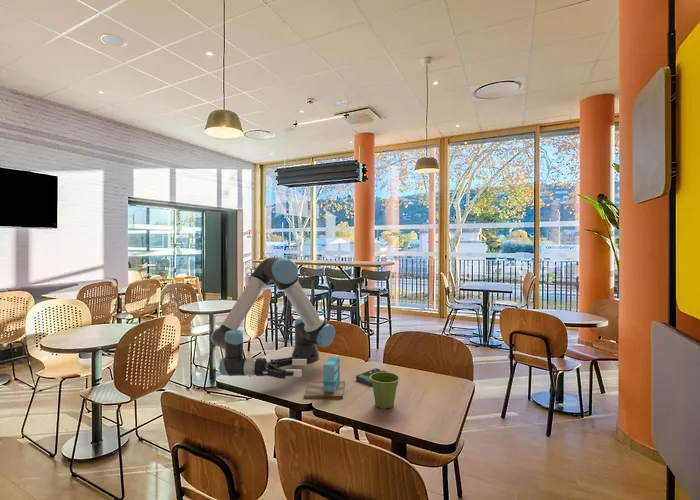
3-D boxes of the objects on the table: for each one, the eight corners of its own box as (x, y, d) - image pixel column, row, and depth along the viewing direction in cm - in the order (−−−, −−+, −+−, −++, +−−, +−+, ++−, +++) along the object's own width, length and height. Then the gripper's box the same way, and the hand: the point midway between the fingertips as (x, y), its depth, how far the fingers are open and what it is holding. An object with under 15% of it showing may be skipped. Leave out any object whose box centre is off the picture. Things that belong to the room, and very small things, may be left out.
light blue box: (333, 394, 149) (333, 365, 149) (323, 393, 150) (323, 365, 150) (339, 383, 161) (339, 356, 160) (330, 382, 162) (329, 356, 161)
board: (310, 383, 164) (310, 380, 164) (344, 383, 163) (344, 381, 163) (304, 398, 148) (304, 395, 148) (342, 398, 147) (342, 395, 147)
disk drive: (375, 373, 178) (355, 381, 167) (375, 367, 178) (355, 375, 167) (392, 378, 171) (372, 387, 160) (392, 372, 171) (372, 381, 160)
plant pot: (399, 413, 135) (399, 383, 135) (368, 410, 137) (368, 381, 136) (400, 399, 146) (400, 372, 146) (371, 397, 148) (371, 370, 148)
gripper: (263, 365, 169) (308, 366, 168) (246, 386, 144) (299, 387, 143) (263, 350, 169) (308, 350, 168) (246, 368, 144) (299, 368, 143)
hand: (304, 367), depth 156 cm, fingers open, 13 cm apart
